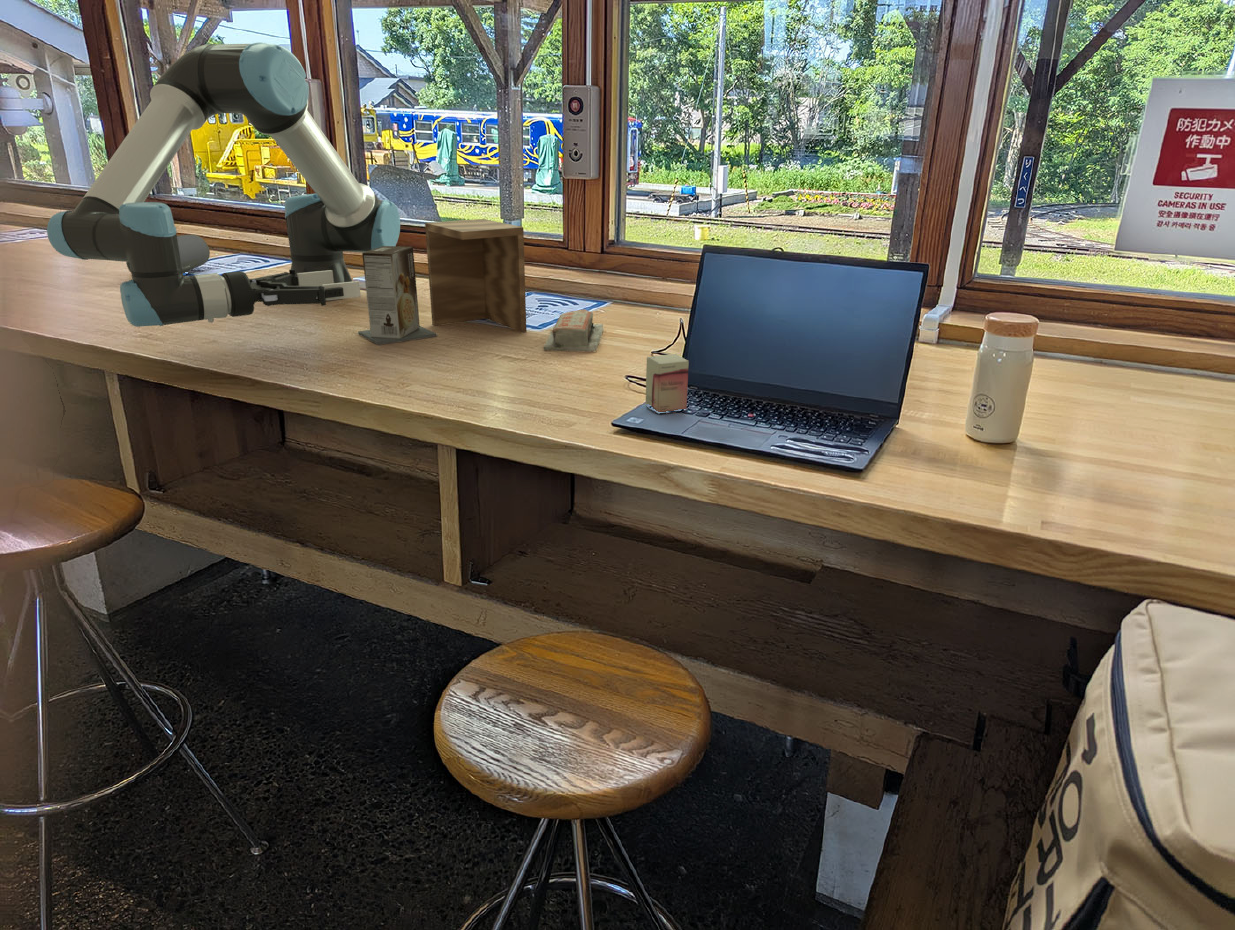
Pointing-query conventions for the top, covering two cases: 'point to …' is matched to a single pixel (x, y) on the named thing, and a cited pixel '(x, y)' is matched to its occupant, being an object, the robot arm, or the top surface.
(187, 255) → the bluetooth speaker
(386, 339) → the mat
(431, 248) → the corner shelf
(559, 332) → the packaged product
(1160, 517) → the top surface
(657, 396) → the small box
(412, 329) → the coffee box
